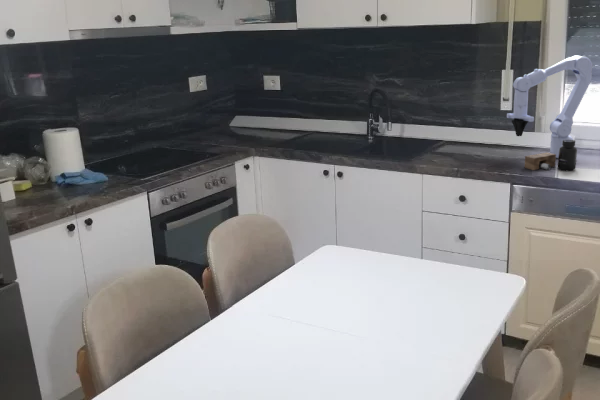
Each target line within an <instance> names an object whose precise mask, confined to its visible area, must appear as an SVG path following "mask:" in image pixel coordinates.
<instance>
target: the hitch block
mask: <svg viewBox="0 0 600 400" xmlns="http://www.w3.org/2000/svg"><path fill="white" fill-rule="evenodd" d="M556 159H557V158H556V154H552V153H550V152H542V153H541V152H540V153H537V154H530V155H525V156H524V168H525V169H528V170H530V171H531V170H532V171H535V170H536V171H537V170H539V169H540V168H539V162H541V163H545V164H549V165H550V168H551V167H552V168H553V167H556Z"/></svg>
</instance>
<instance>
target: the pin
mask: <svg viewBox="0 0 600 400" xmlns="http://www.w3.org/2000/svg"><path fill="white" fill-rule="evenodd" d="M539 169H541V170H546V171H549V170H550V169H551V167H550V165H549V164H545V163H541V162H539Z"/></svg>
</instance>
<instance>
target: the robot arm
mask: <svg viewBox="0 0 600 400" xmlns="http://www.w3.org/2000/svg"><path fill="white" fill-rule="evenodd" d="M593 67H594V65H593V63H592V60H591V59H590V58H589V57H587V56H581V55H578V54H577V55H573V56H571V57H570V56H569V57H566V58H565V59H563V60H561V61H559V62H557V63H555V64H553V65H551V66H549V67H546V68H545V69H542V68H539V69H538V68H534V69H533V71H532V72H529V73H528V74H526V73H525V74H524V75H523V76H520V77H516V79H515V80H514V81H513V83H512V87H513V88H514V96H513V112H512V113H511V112H510V113H508V112H507V113H506V118H507V119H513V120H511V123H512V125H513V127H514V131H515V135H516V137H522V136H523V133H524V130H525V128H526V126H527V124H528V123H533V122H535V117H534V116H531V115H528V109H529V108H528V106H529V105H528V103H529V102H528V101H529V90H531V88H533V87H535V86H537V85H539V84H542V83H543V82H545V81H546V80H547V78H548V77H551V76H553V75H555V74H557V73H558V74H559V73H560V72H562V71H565V70H570V71H572V72H573V73H574V75H575V78H576V81H575V83H574V86H573V88H572V89H571V92H570V93H569V96H568V98H567V100H566V101H565V103H564V106H563V108H562V109H561V112H560V113H559V114H558V115H557V116H556V117H555V118H554V120H553V121H551V123H550V125H549V130H550V132H551V136H550V147H549V149H550V150H549V153H552V154H556V159H558V157H559V149H560V147H562V146H563V145H562V142H563V140H574V138H573V137H572V135H571V133H572V126H573V124H574V120H573V117H574V116H575V114H576V111H577V109H578V108H579V106H580V104H581V102H582V100H583V97H584V96H585V94H586V92H587V90H588V88H589V86H590V83H591V82H592V80H593V74H592V73H593V71H592V69H593Z"/></svg>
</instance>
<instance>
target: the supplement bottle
mask: <svg viewBox="0 0 600 400" xmlns="http://www.w3.org/2000/svg"><path fill="white" fill-rule="evenodd" d="M562 145H563V146H562V147H560V149H559V157H558V158H557V169H558V170H559V171H563V172H573V171H575V170H576V165H577V156H578V149H577V147H576V140H574V139H573V140H563V142H562Z"/></svg>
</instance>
